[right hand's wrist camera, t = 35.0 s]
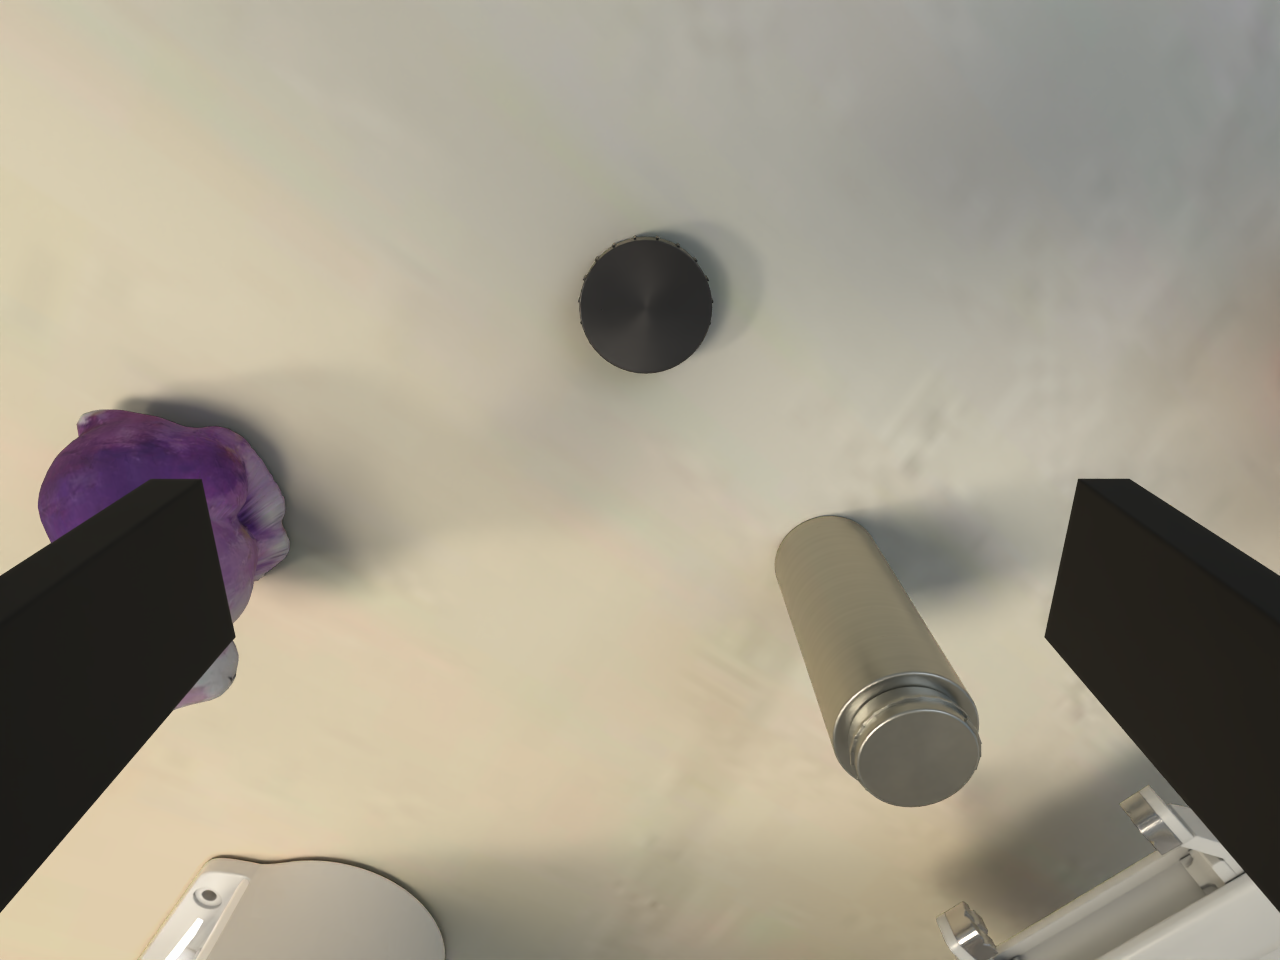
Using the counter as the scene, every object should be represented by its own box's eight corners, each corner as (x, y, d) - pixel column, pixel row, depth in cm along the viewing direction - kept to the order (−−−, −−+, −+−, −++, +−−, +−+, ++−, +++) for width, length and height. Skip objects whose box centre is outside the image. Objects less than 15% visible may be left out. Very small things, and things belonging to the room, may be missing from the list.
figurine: (320, 596, 42) (158, 815, 28) (117, 571, 41) (-153, 782, 27) (320, 422, 38) (135, 572, 24) (98, 392, 38) (-222, 528, 24)
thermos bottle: (811, 624, 42) (892, 842, 29) (754, 554, 41) (811, 749, 27) (896, 569, 41) (1023, 771, 28) (841, 495, 40) (946, 669, 26)
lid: (681, 212, 35) (683, 214, 33) (730, 336, 37) (733, 343, 35) (559, 267, 36) (555, 272, 34) (613, 385, 38) (611, 395, 36)
